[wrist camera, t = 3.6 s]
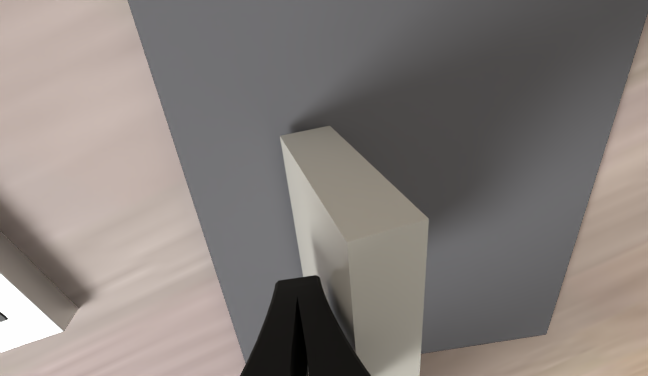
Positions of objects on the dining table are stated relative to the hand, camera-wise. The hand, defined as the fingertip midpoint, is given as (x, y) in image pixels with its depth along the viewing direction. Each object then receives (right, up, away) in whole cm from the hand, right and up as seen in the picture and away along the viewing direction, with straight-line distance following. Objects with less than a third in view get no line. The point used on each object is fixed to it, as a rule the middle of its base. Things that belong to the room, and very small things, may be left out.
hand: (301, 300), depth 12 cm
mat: (+4, +3, +5) cm, 7 cm away
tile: (0, +2, +4) cm, 5 cm away
